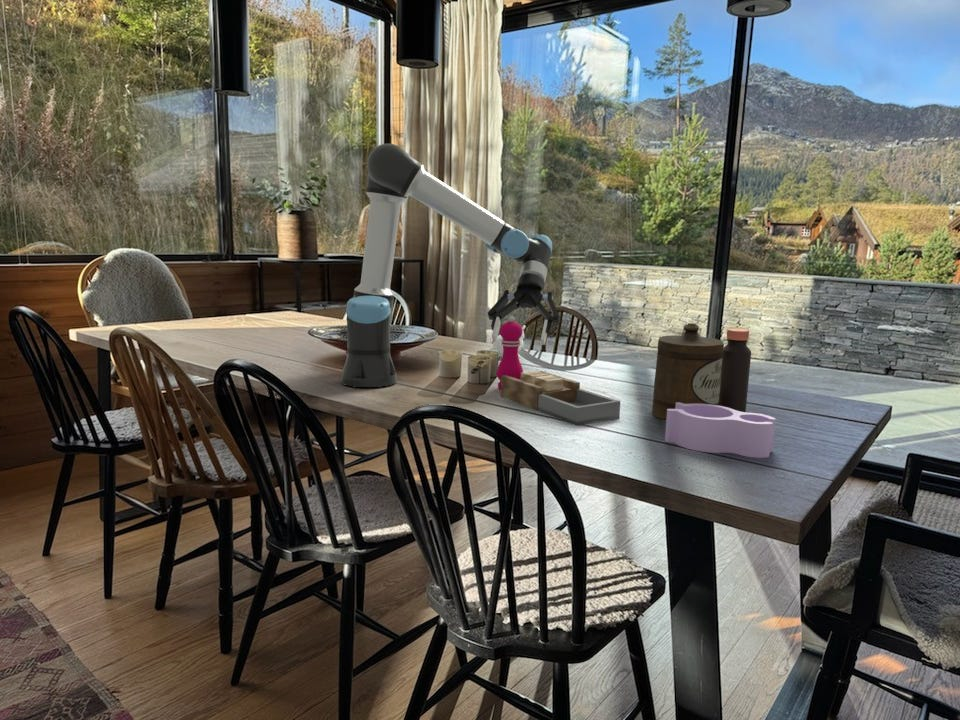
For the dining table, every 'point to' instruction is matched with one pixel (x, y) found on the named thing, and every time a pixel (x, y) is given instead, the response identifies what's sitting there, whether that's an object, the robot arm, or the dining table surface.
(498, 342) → the rabbit
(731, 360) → the bottle
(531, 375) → the chip
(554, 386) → the chip
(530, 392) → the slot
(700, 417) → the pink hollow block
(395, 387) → the dining table surface
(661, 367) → the wooden container
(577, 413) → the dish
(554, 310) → the robot arm
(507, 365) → the pepper mill
